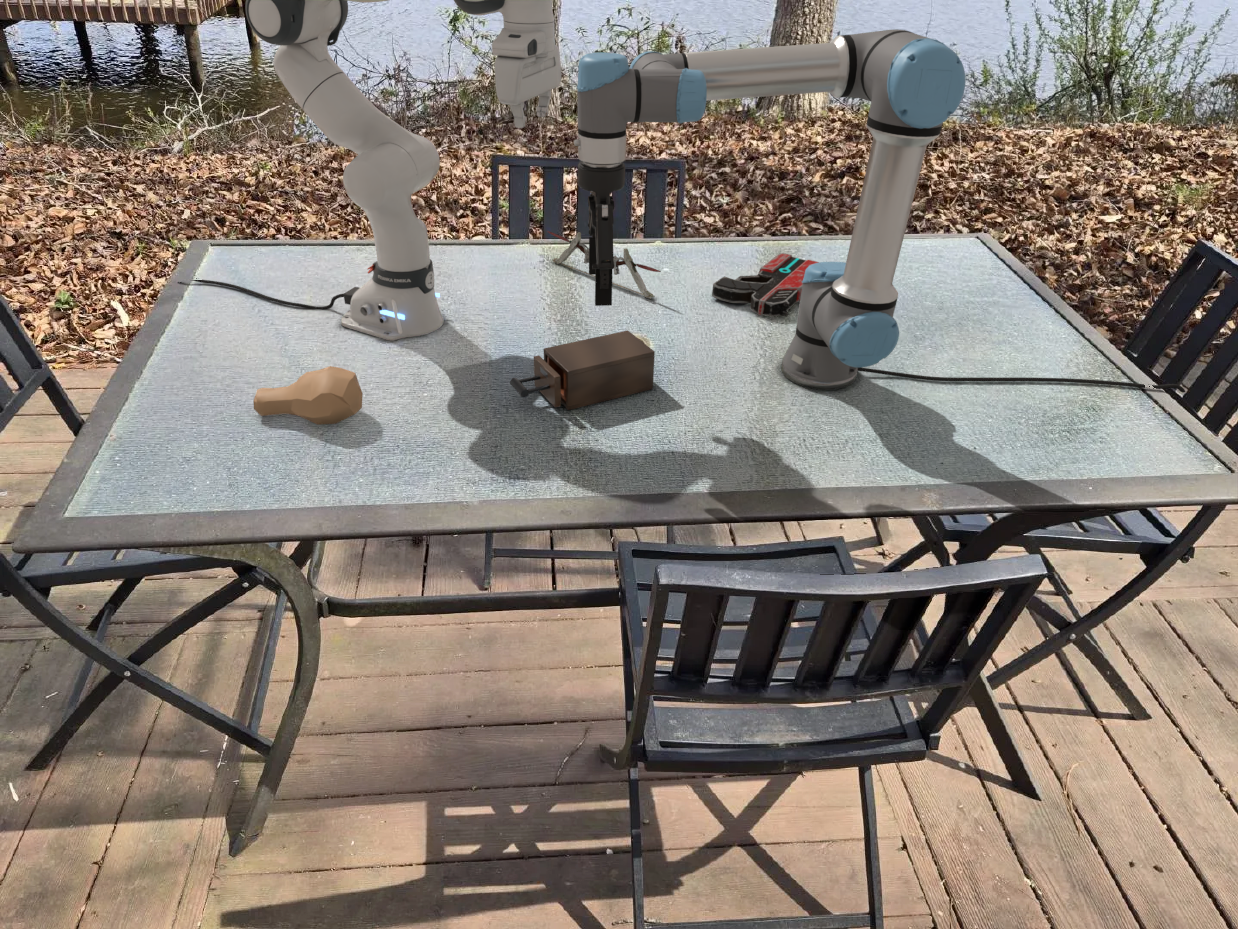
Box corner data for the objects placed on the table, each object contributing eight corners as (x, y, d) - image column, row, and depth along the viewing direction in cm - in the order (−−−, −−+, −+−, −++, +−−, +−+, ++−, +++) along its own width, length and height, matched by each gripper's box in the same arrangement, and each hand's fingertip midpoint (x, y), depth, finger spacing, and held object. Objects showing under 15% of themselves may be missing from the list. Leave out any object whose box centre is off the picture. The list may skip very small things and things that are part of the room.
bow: (662, 300, 209) (664, 260, 204) (657, 302, 208) (659, 262, 203) (550, 258, 231) (549, 220, 225) (545, 259, 230) (544, 222, 224)
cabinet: (568, 410, 166) (567, 371, 161) (544, 386, 173) (543, 348, 169) (652, 389, 173) (654, 351, 169) (626, 366, 181) (627, 330, 176)
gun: (708, 284, 207) (784, 305, 199) (760, 245, 229) (831, 262, 221) (706, 302, 209) (781, 323, 201) (758, 261, 231) (828, 278, 223)
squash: (362, 431, 158) (346, 392, 151) (255, 439, 159) (235, 401, 153) (374, 393, 165) (360, 354, 159) (272, 401, 167) (254, 364, 161)
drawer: (526, 414, 162) (524, 384, 158) (506, 392, 169) (504, 362, 165) (636, 387, 172) (637, 358, 168) (613, 367, 179) (613, 338, 175)
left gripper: (538, 29, 163) (539, 108, 170) (486, 45, 147) (491, 131, 154) (569, 32, 161) (569, 111, 169) (520, 48, 145) (523, 135, 153)
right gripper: (573, 141, 148) (573, 262, 160) (583, 184, 127) (582, 319, 139) (617, 141, 149) (614, 261, 160) (634, 184, 128) (629, 318, 140)
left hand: (531, 121), depth 161 cm, fingers open, 8 cm apart
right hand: (599, 288), depth 150 cm, fingers open, 13 cm apart
